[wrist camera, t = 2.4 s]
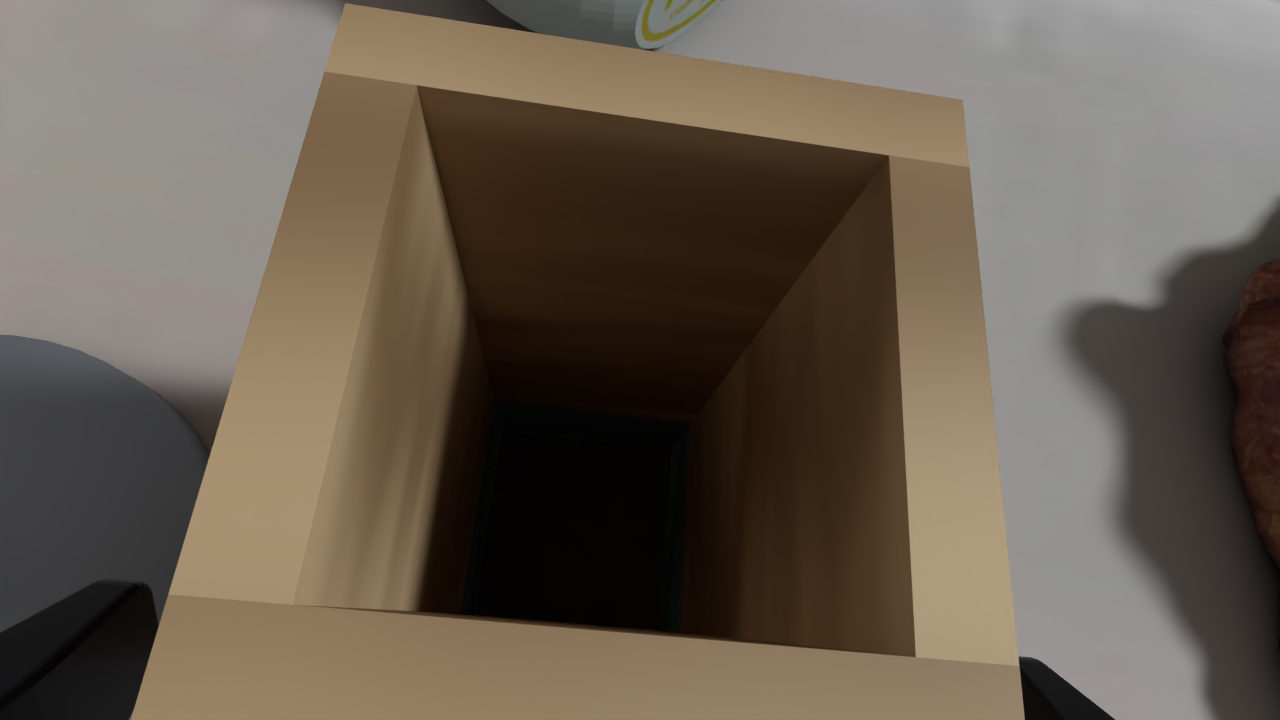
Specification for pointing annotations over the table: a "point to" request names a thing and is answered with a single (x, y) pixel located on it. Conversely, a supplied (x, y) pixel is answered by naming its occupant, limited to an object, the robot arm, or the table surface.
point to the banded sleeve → (604, 395)
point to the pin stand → (87, 478)
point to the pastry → (1258, 398)
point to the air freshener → (610, 19)
